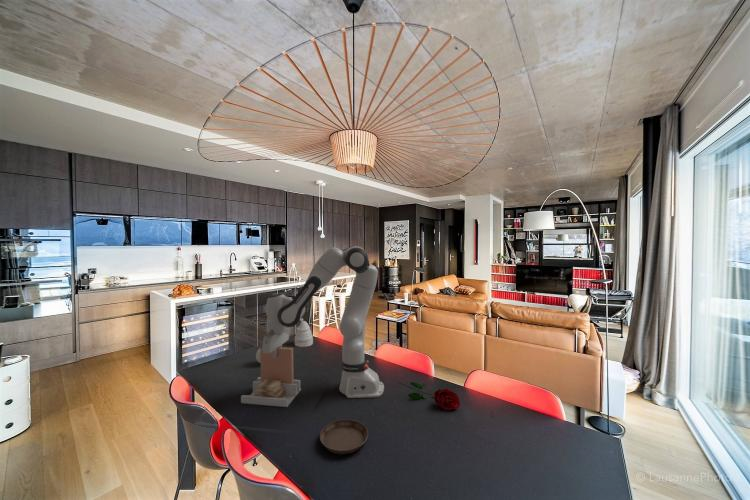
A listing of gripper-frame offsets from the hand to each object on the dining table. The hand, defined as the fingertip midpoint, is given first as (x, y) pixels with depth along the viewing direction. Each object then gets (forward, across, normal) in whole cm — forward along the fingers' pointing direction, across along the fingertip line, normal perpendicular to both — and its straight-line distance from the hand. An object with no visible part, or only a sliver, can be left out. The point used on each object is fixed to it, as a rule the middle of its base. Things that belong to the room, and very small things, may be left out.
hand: (276, 355), depth 139 cm
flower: (+20, +3, -72) cm, 75 cm away
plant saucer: (+19, -28, -41) cm, 53 cm away
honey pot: (+19, +68, +14) cm, 72 cm away
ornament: (+18, +32, +24) cm, 44 cm away
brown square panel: (+14, 0, 0) cm, 14 cm away
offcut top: (+13, -7, 0) cm, 14 cm away
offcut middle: (+15, -7, 0) cm, 16 cm away
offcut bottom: (+17, -7, 0) cm, 19 cm away
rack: (+18, -4, 0) cm, 19 cm away
